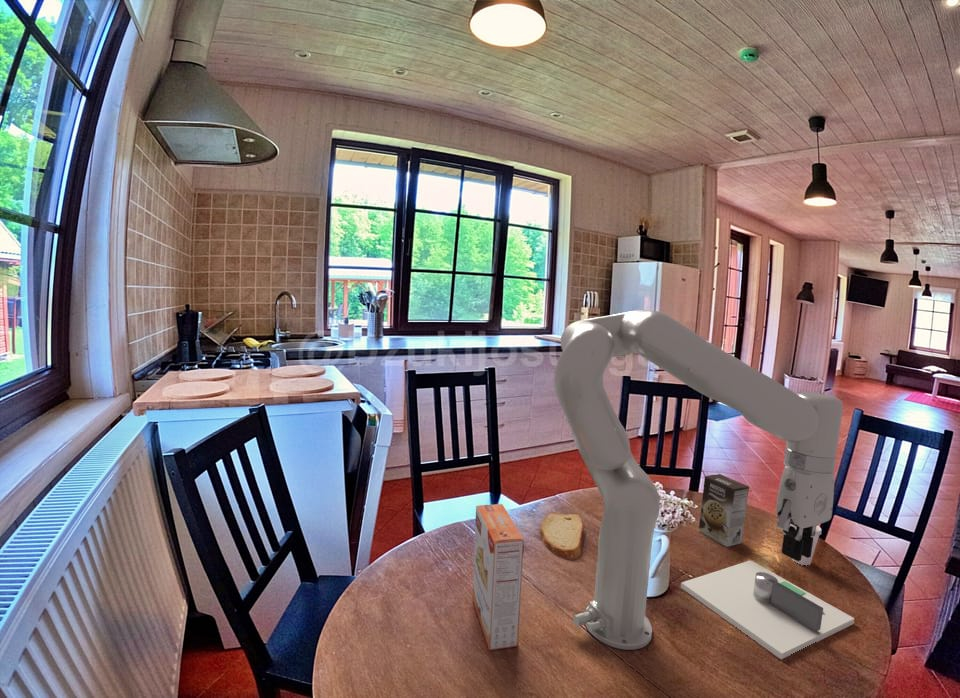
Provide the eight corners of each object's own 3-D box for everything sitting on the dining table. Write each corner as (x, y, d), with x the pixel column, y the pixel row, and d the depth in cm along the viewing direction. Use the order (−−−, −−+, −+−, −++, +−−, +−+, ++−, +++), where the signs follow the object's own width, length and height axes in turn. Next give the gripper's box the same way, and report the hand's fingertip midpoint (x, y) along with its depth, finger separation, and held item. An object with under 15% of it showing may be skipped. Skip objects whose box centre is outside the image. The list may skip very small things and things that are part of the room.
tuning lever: (749, 594, 99) (751, 574, 98) (760, 589, 100) (763, 570, 100) (811, 633, 88) (815, 611, 87) (823, 627, 89) (827, 606, 89)
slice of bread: (567, 564, 110) (569, 549, 110) (518, 531, 124) (518, 518, 124) (614, 542, 121) (616, 529, 120) (563, 514, 135) (564, 502, 135)
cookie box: (697, 531, 129) (703, 475, 127) (713, 527, 131) (719, 472, 129) (726, 547, 120) (733, 488, 119) (743, 543, 123) (750, 485, 121)
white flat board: (781, 659, 83) (782, 652, 83) (680, 587, 102) (681, 581, 102) (853, 623, 93) (854, 617, 93) (749, 564, 113) (750, 559, 113)
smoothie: (787, 564, 114) (794, 510, 113) (784, 551, 120) (791, 500, 118) (818, 572, 111) (826, 517, 110) (814, 559, 117) (821, 507, 115)
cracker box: (470, 600, 95) (475, 503, 92) (498, 597, 96) (503, 502, 94) (486, 652, 81) (492, 540, 79) (519, 648, 83) (526, 538, 80)
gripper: (804, 473, 77) (790, 576, 79) (856, 462, 84) (842, 557, 86) (761, 458, 84) (749, 553, 86) (812, 449, 91) (800, 537, 93)
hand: (796, 554), depth 86 cm, fingers closed
